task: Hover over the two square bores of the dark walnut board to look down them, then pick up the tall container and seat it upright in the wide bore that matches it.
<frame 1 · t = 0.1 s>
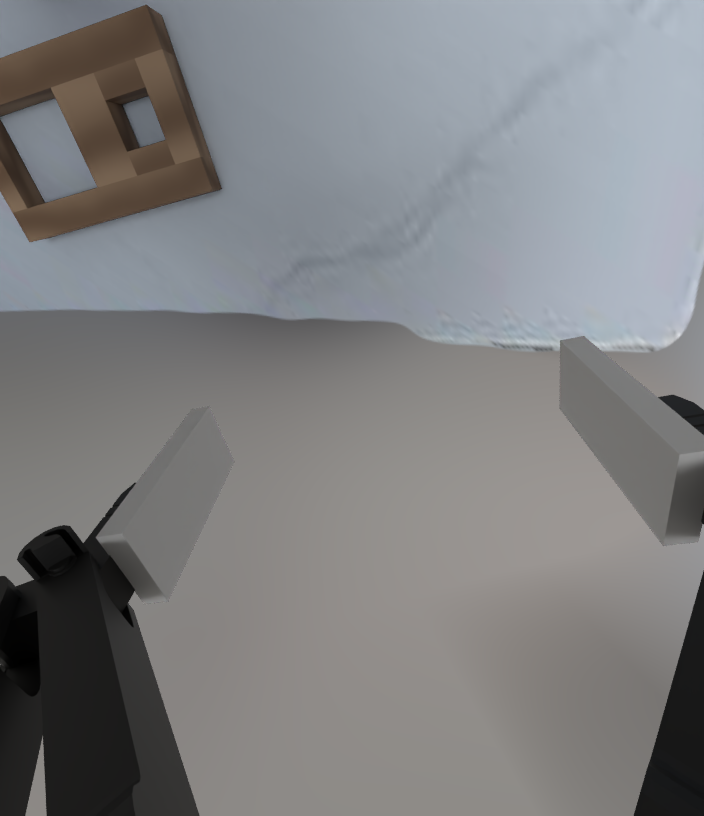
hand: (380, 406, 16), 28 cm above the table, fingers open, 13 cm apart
socket board: (98, 139, 36), on the table
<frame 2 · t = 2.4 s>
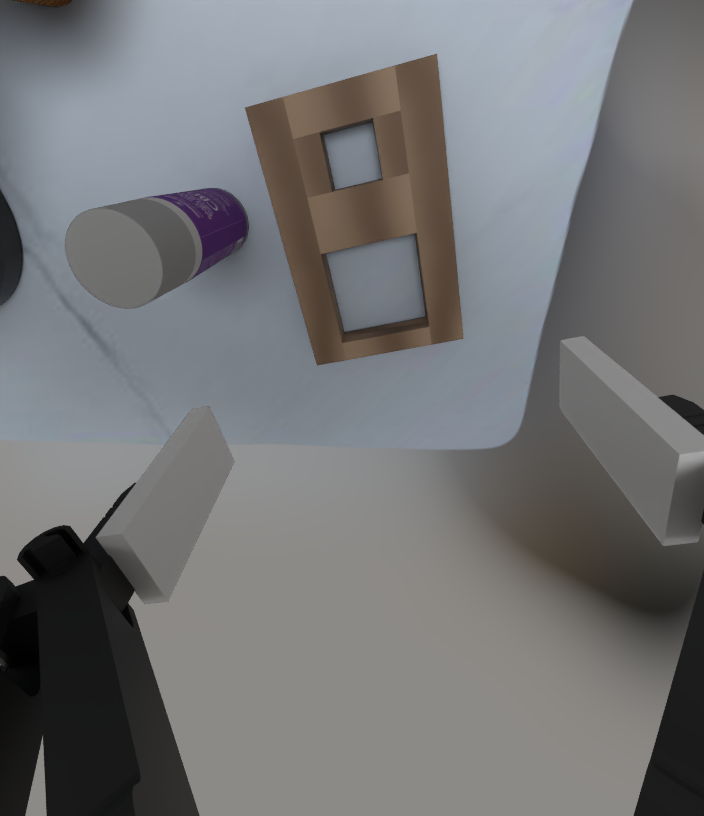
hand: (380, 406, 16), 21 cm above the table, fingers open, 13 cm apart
container: (219, 221, 33), on the table
socket board: (367, 231, 32), on the table
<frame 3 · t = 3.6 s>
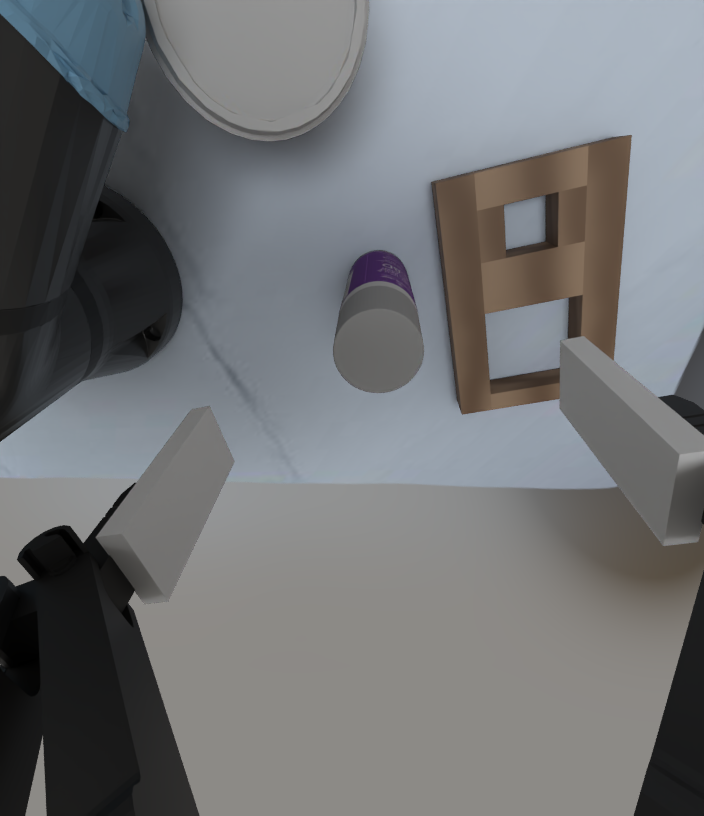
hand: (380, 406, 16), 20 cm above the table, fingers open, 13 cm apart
container: (378, 280, 34), on the table
disposable coffee cup: (246, 28, 26), point 1 cm above the table, touching arm
socket board: (522, 289, 33), on the table
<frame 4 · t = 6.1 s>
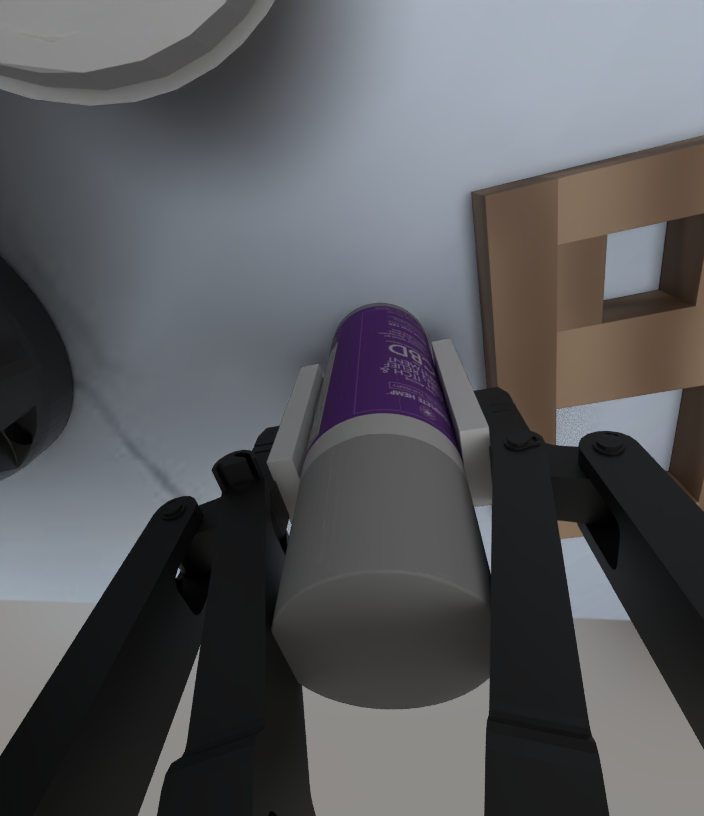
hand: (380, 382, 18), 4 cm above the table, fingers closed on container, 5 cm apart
container: (379, 347, 21), on the table, touching gripper
socket board: (612, 362, 21), on the table
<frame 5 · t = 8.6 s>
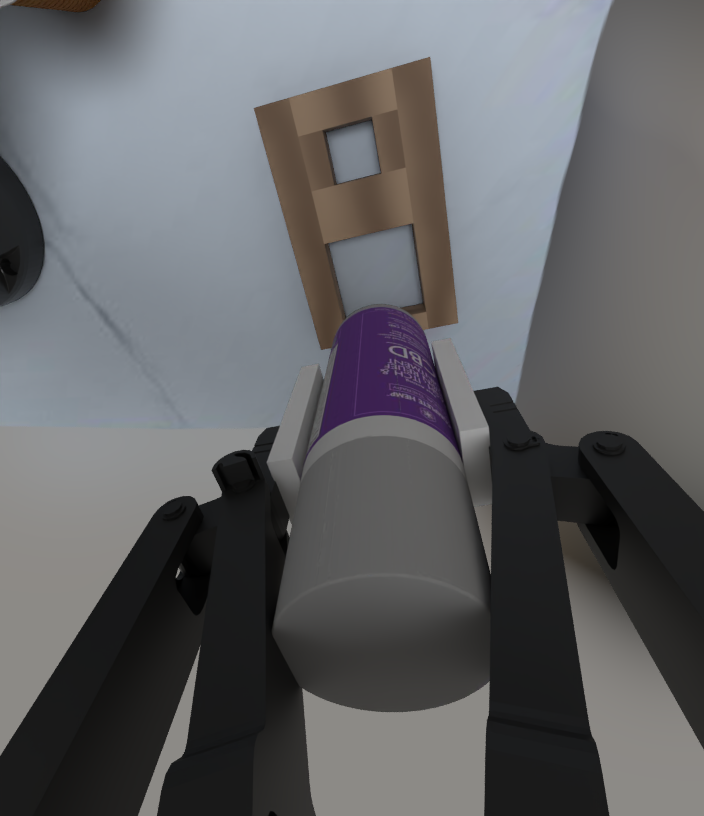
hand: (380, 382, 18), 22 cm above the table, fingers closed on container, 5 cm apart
container: (379, 348, 21), point 18 cm above the table, touching gripper
socket board: (367, 222, 35), on the table
when the fingers open (5 cm above the table, at t = 11.9 s): container stays where it is, resting in socket board.
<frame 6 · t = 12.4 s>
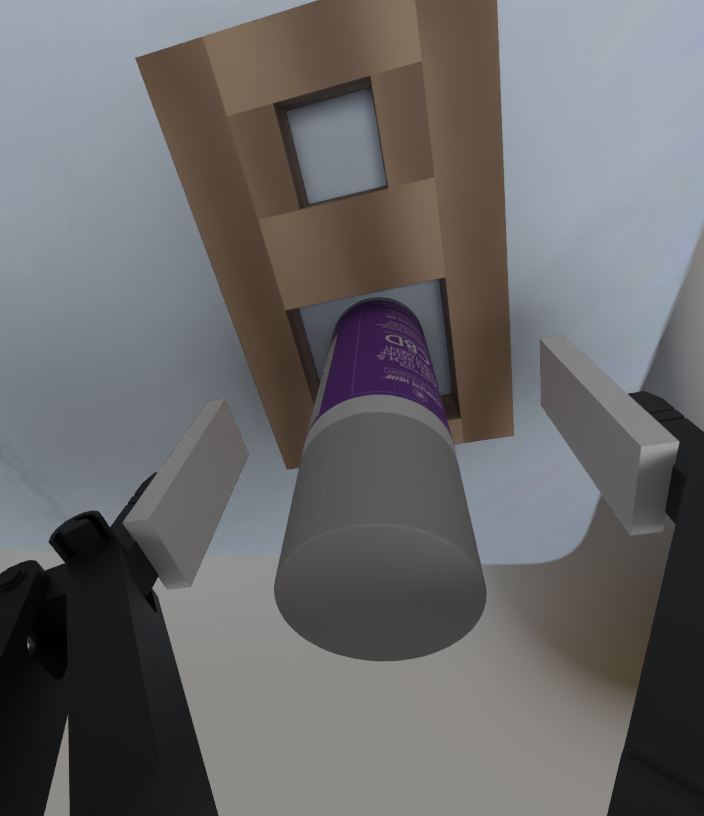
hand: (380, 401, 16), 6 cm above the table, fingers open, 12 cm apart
container: (377, 340, 22), resting in socket board
socket board: (362, 270, 20), on the table
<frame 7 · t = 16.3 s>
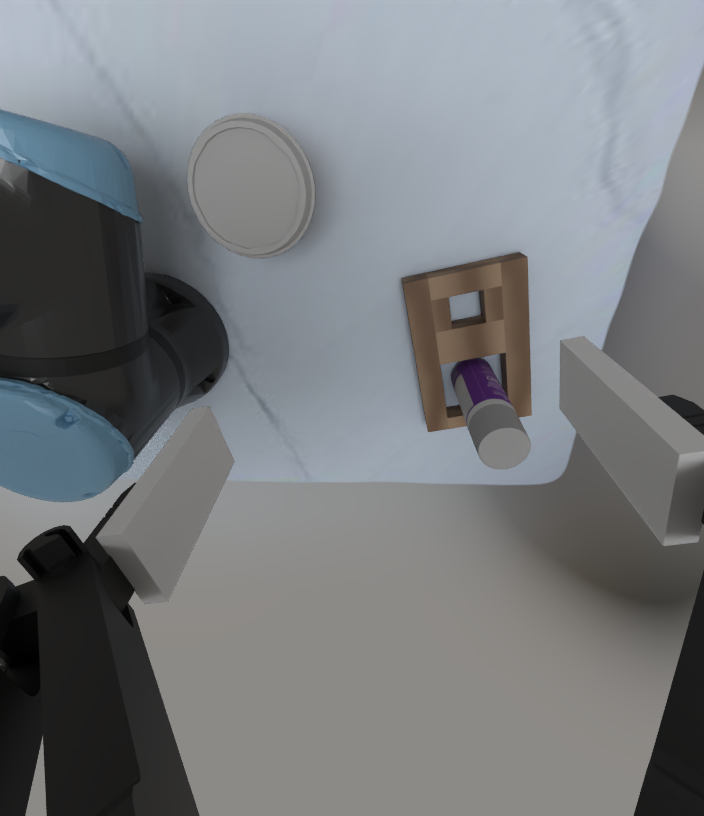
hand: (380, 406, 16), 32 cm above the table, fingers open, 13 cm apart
container: (470, 374, 50), resting in socket board
disposable coffee cup: (280, 184, 41), on the table
socket board: (467, 345, 48), on the table
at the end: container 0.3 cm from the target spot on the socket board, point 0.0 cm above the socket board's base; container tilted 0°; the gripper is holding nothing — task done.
